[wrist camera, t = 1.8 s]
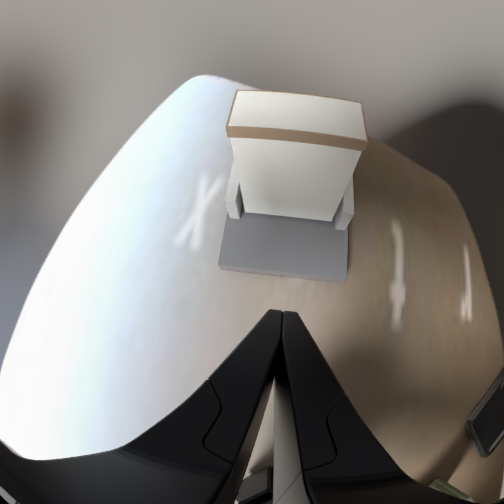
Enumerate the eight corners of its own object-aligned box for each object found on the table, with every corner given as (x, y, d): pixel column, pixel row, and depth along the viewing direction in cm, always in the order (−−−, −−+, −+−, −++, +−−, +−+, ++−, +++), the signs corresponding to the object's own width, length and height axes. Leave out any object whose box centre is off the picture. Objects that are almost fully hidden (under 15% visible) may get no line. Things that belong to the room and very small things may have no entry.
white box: (332, 222, 22) (368, 142, 12) (243, 213, 22) (225, 127, 13) (332, 189, 23) (361, 102, 13) (249, 180, 23) (236, 89, 14)
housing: (341, 282, 22) (357, 268, 18) (221, 269, 23) (210, 252, 19) (341, 149, 26) (351, 120, 22) (245, 139, 27) (241, 109, 23)
